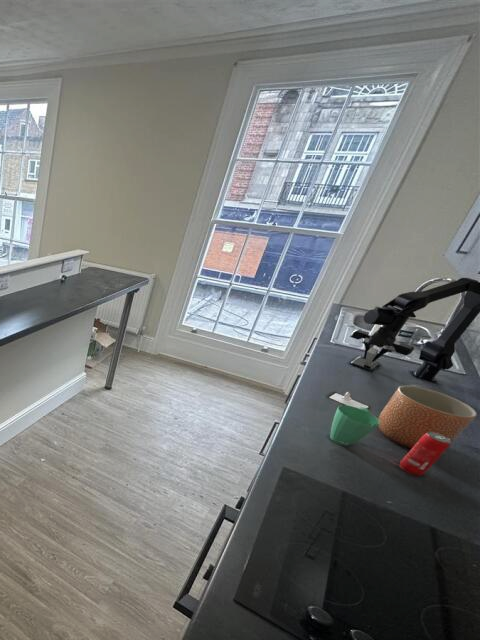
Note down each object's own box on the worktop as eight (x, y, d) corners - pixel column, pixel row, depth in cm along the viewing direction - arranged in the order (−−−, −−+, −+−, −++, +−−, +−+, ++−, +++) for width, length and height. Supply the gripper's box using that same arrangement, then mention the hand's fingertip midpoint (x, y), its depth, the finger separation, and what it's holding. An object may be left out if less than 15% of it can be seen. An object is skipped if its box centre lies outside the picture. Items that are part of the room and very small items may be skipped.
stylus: (367, 361, 172) (371, 347, 163) (374, 364, 171) (378, 349, 162) (363, 365, 173) (367, 351, 163) (370, 368, 171) (374, 354, 162)
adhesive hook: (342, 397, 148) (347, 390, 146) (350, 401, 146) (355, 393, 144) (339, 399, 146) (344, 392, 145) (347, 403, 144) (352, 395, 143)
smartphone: (350, 362, 174) (360, 355, 182) (349, 363, 174) (359, 356, 182) (371, 369, 169) (381, 362, 177) (370, 371, 169) (380, 363, 177)
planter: (438, 441, 127) (473, 402, 120) (442, 466, 116) (481, 424, 109) (370, 417, 137) (398, 379, 129) (367, 438, 126) (398, 398, 118)
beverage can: (392, 463, 116) (420, 431, 109) (408, 463, 116) (436, 431, 110) (411, 476, 111) (441, 443, 105) (427, 476, 112) (457, 443, 106)
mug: (355, 455, 118) (375, 428, 112) (316, 437, 124) (334, 411, 119) (367, 438, 126) (387, 413, 120) (330, 422, 132) (347, 397, 127)
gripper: (355, 320, 162) (334, 354, 170) (416, 338, 149) (389, 374, 157) (366, 316, 167) (345, 349, 175) (425, 334, 154) (399, 369, 162)
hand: (368, 360), depth 167 cm, fingers closed on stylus, 2 cm apart
